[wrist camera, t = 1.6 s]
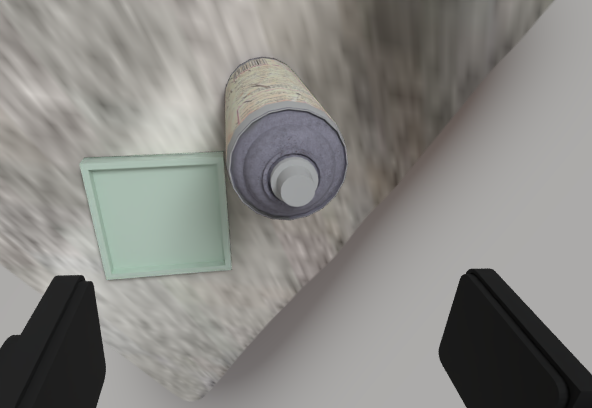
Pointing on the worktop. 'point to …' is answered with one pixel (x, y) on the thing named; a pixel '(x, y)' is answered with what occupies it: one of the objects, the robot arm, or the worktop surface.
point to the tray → (159, 213)
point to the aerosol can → (280, 142)
